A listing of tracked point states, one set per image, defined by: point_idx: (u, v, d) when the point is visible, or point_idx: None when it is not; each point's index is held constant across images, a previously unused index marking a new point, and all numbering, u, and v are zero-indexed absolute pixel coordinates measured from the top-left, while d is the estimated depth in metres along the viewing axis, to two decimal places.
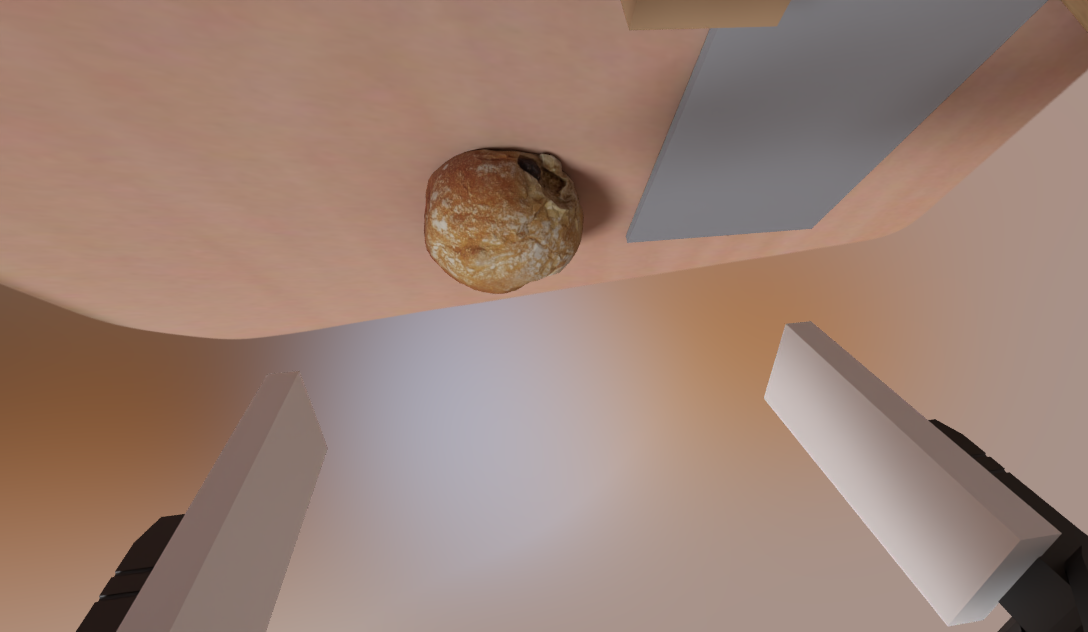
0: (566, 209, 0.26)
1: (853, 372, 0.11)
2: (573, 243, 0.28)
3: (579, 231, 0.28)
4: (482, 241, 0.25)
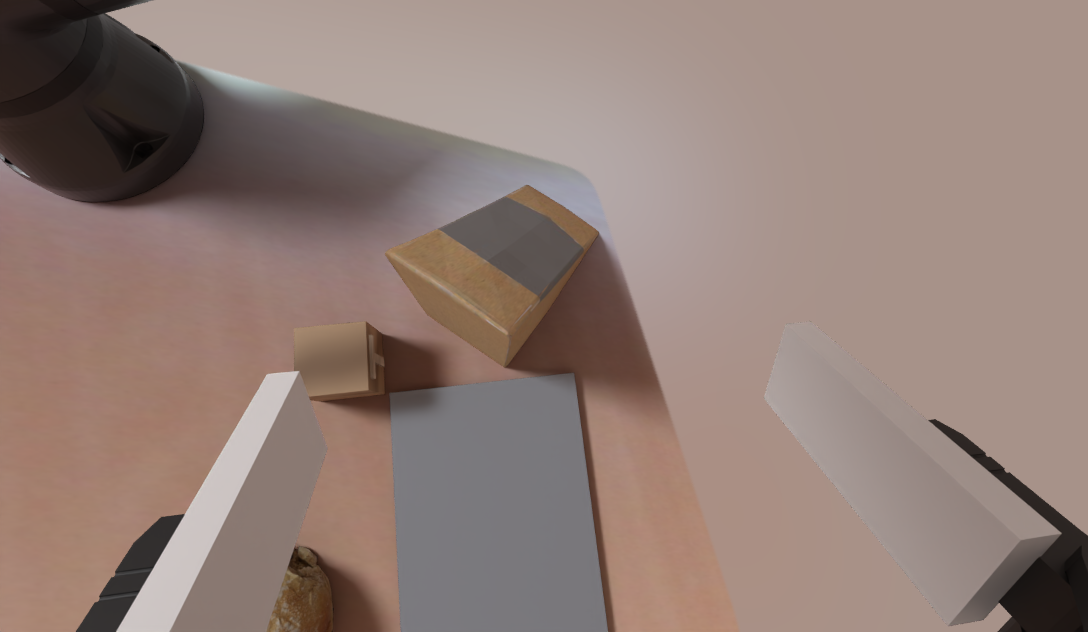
0: (300, 577, 0.32)
1: (853, 372, 0.11)
2: (300, 613, 0.30)
3: (313, 607, 0.31)
4: None
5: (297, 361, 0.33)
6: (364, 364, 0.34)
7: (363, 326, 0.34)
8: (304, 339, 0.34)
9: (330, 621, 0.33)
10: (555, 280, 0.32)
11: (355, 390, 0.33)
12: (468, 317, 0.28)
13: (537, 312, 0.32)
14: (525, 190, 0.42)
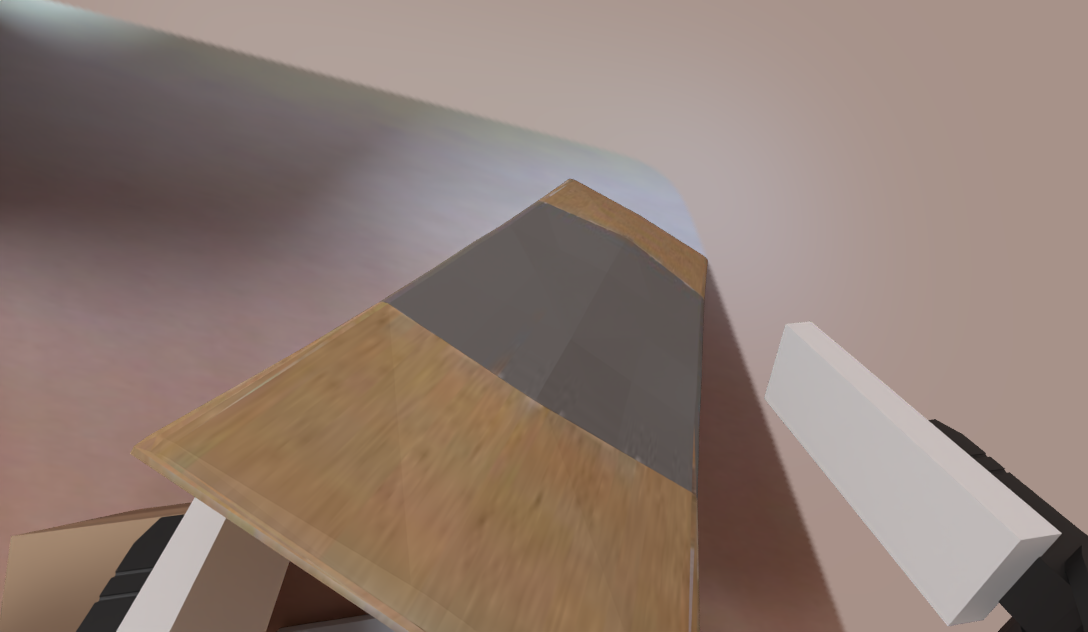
0: None
1: (853, 372, 0.11)
2: None
3: None
4: None
5: (7, 627, 0.13)
6: None
7: None
8: (33, 566, 0.14)
9: None
10: (699, 407, 0.13)
11: None
12: None
13: None
14: (571, 188, 0.22)
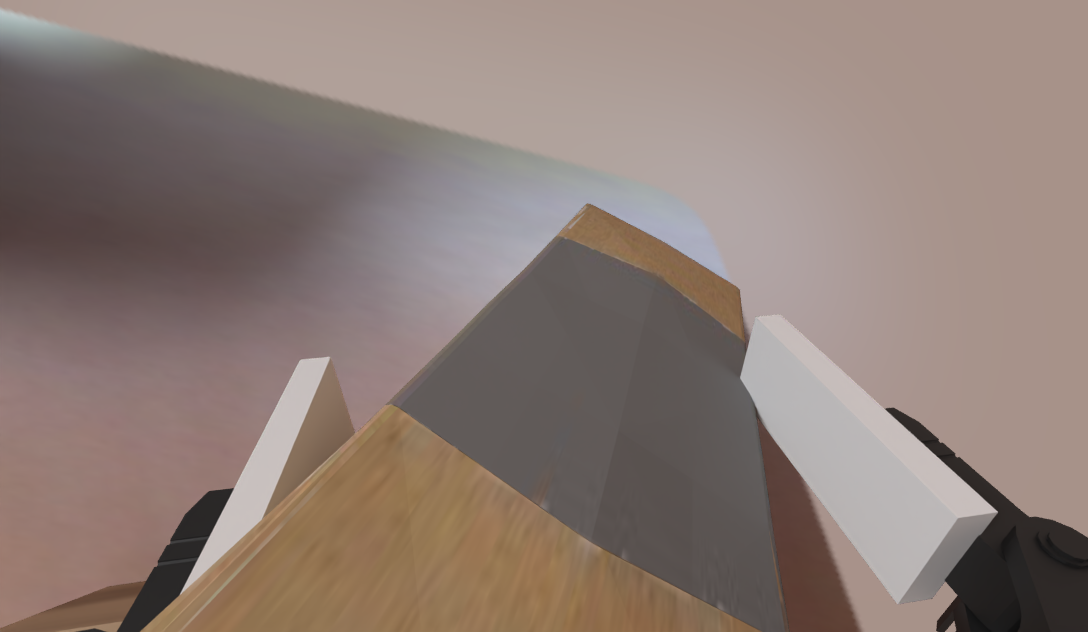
0: None
1: (816, 362, 0.11)
2: None
3: None
4: None
5: None
6: None
7: None
8: None
9: None
10: (768, 500, 0.11)
11: None
12: None
13: None
14: (590, 216, 0.20)
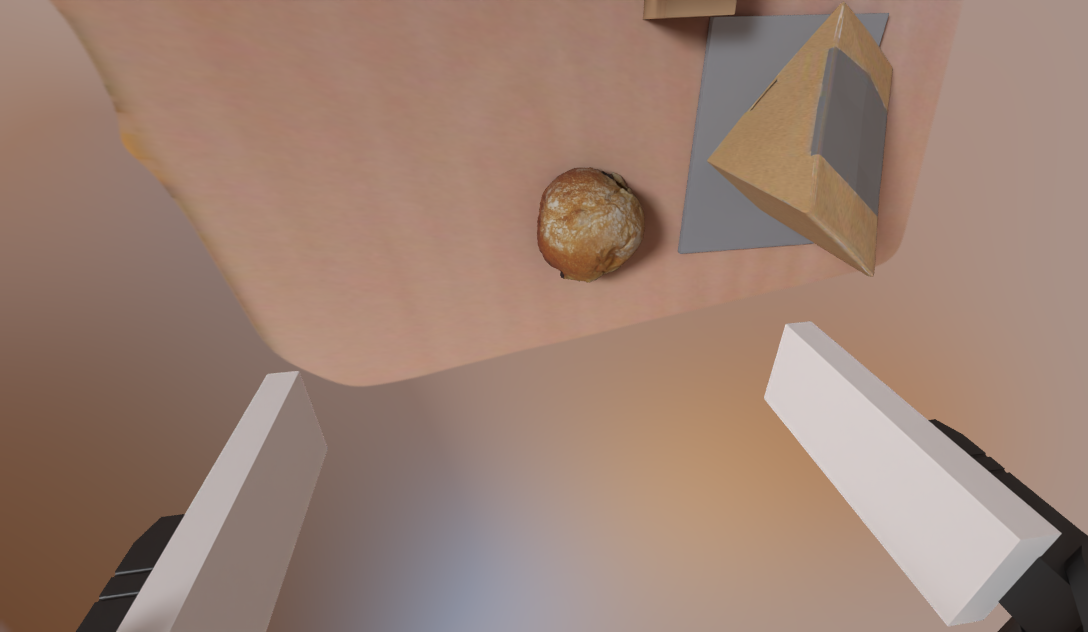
0: (633, 196, 0.41)
1: (853, 372, 0.11)
2: (640, 221, 0.41)
3: (643, 218, 0.41)
4: (582, 205, 0.38)
5: None
6: None
7: None
8: None
9: None
10: (880, 183, 0.36)
11: (722, 13, 0.33)
12: (825, 241, 0.34)
13: None
14: (845, 19, 0.37)
